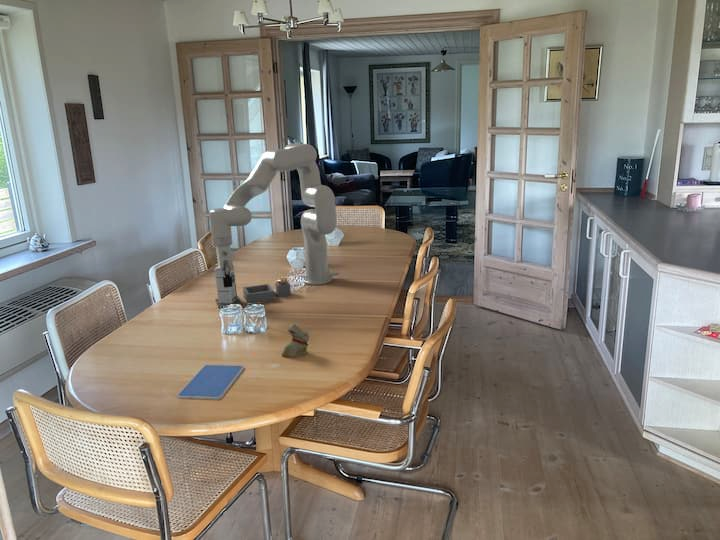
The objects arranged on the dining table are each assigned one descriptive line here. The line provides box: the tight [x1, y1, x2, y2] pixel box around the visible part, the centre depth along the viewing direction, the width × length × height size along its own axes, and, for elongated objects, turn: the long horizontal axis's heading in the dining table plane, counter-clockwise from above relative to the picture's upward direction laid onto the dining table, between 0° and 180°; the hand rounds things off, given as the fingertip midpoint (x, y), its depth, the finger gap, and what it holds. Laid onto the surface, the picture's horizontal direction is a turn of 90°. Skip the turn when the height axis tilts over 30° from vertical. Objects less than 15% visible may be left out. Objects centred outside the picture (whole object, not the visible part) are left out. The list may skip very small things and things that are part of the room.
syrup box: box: [214, 265, 238, 303], centre depth 224 cm, size 6×6×14 cm
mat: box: [215, 295, 243, 309], centre depth 225 cm, size 9×11×1 cm
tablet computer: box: [176, 364, 245, 401], centre depth 158 cm, size 19×13×1 cm, turn 172°
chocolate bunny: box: [281, 323, 310, 358], centre depth 174 cm, size 6×8×10 cm
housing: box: [242, 280, 292, 304], centre depth 230 cm, size 18×11×5 cm, turn 109°
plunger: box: [276, 277, 288, 285], centre depth 231 cm, size 4×4×6 cm
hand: (226, 283), depth 223 cm, fingers open, 9 cm apart
